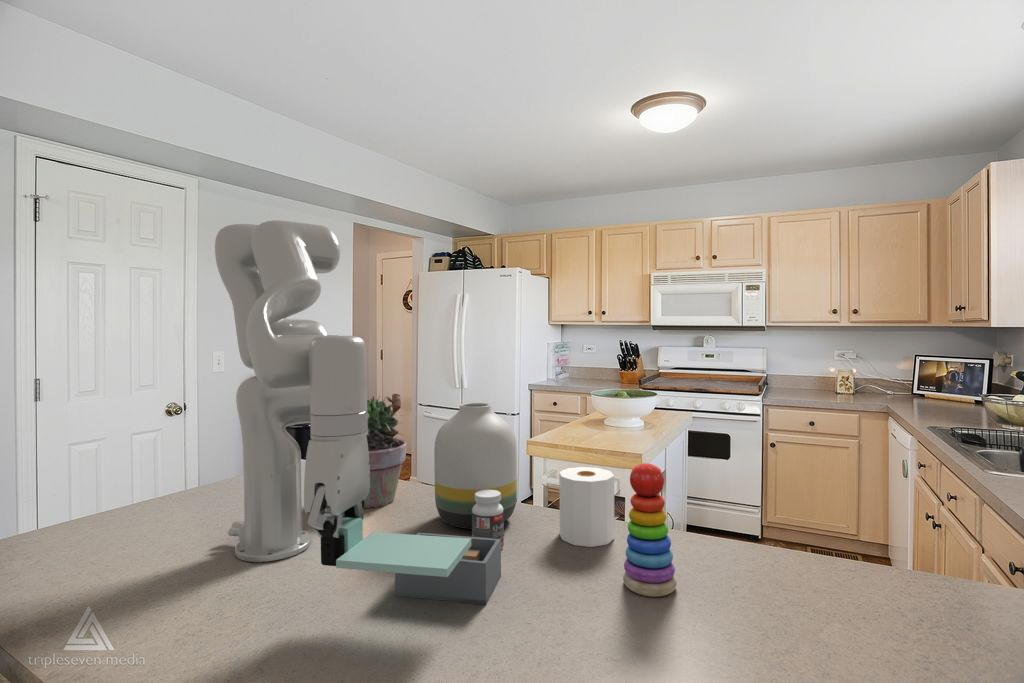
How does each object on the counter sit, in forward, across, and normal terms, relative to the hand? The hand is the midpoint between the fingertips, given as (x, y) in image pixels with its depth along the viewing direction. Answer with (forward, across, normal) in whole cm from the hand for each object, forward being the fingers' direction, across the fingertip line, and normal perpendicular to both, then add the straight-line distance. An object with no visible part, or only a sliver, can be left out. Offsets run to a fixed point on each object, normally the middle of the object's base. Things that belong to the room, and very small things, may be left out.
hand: (342, 556), depth 74 cm
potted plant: (+8, -46, -20) cm, 51 cm away
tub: (+8, -11, +12) cm, 18 cm away
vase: (+8, -39, +8) cm, 41 cm away
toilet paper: (+8, -35, +30) cm, 47 cm away
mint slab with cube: (-1, 0, +8) cm, 8 cm away
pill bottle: (+8, -26, +14) cm, 31 cm away
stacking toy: (+9, -17, +42) cm, 46 cm away
